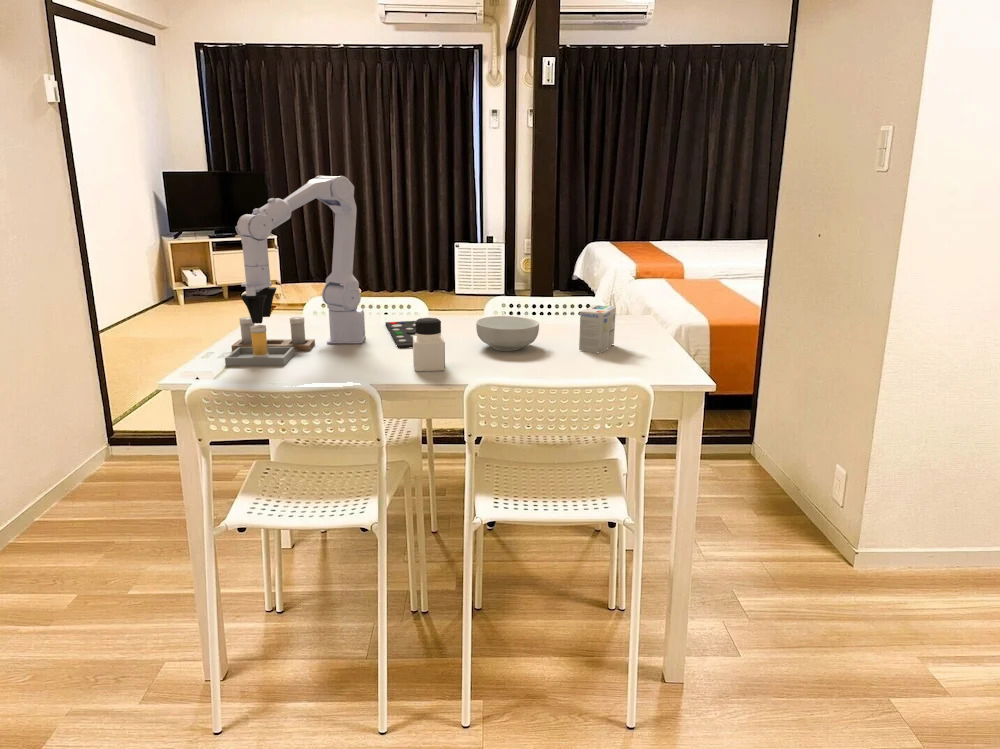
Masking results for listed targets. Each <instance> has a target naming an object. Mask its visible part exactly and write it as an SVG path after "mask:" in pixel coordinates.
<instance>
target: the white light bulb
mask: <svg viewBox="0 0 1000 749" xmlns="http://www.w3.org/2000/svg"><path fill="white" fill-rule="evenodd" d="M239 325H240V333H241V334H240V335H241V339H242V344H252V337H251V331H250V327H251V326H254V325H255V324H253V322H252V320H251V317H250V316H245V317H244V316H243V317H240V318H239Z"/></svg>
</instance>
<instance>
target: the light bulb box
mask: <svg viewBox="0 0 1000 749" xmlns="http://www.w3.org/2000/svg"><path fill="white" fill-rule="evenodd" d="M616 311H617V307H616V306H611V305H598V304H592V305H591V306H589V307H588V308H586V309H584V310H582V311H581V310H580V314H579V315H580V318H579V319H580V320H579V339H578V340H579V344H578V351H579V350H582V352H586V351H589V352H588V353H594V352H599V353H598V354H602V352H603V353H604V352H605V351H607V350H608V349H610V348H611V347H612V346H611V345H612V344H614V345H615V330H616V329H615V328H616ZM610 346H611V347H610ZM609 347H610V348H609ZM607 348H608V349H607ZM606 349H607V350H606Z"/></svg>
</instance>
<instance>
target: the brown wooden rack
mask: <svg viewBox="0 0 1000 749" xmlns="http://www.w3.org/2000/svg"><path fill="white" fill-rule="evenodd" d="M305 342H306V344H292V338H291V339H288V338H287V339H286V338H285V339H284V338H283V339H282V338H281V339H278V338H277V339H276V338H275V339H272V338H270V339H269V338H267V347H294V349H295V352H310V351H311V350H312V349H313V348H314V346H315V345H316V340H315V338H311V339H309V338H305ZM238 347H252V344H242V338H241V339H238V340H237V341H235V342H234V343H233V344H231V352H233V351H234V350H236V349H237V348H238Z"/></svg>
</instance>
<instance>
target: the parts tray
mask: <svg viewBox="0 0 1000 749" xmlns="http://www.w3.org/2000/svg"><path fill="white" fill-rule="evenodd" d="M267 349H268V355H269V357H253V348H252V347H238V348H237V349H236V350H234V351H231V352H230V353H229V354H227V356H225V357H224V364H225V367H257V366H258V367H262V366H263V367H268V366H269V367H271V366H272V367H280V366H281V367H284V366H286V365H287V364H288V363H289V362H290V360H291V359H292V358H294V356H295V355H296V351H295V349H294V347H267Z"/></svg>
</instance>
